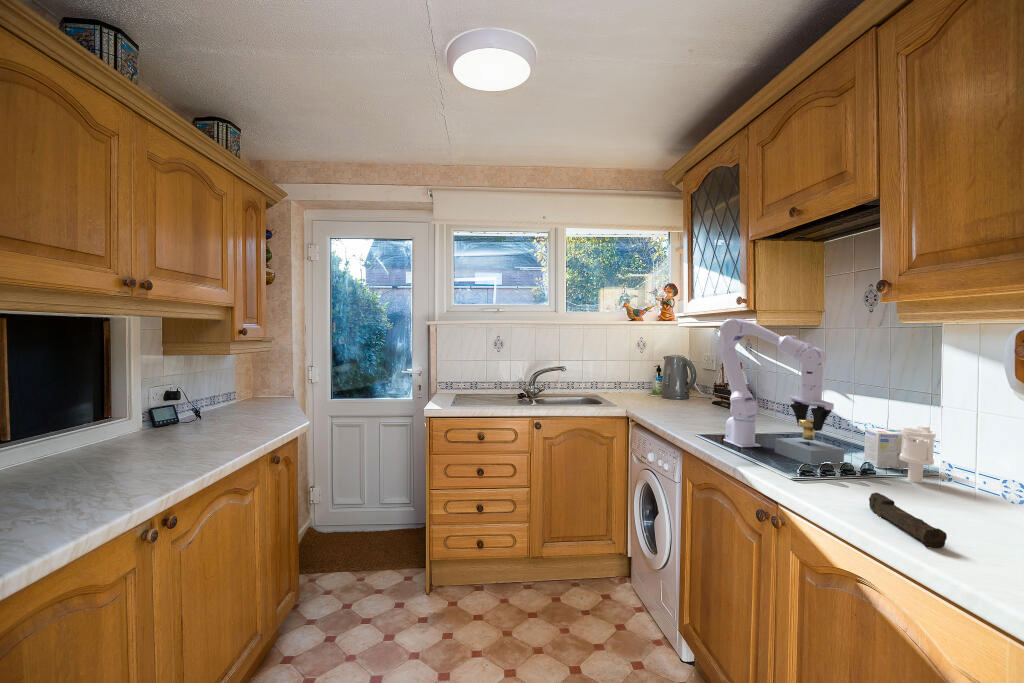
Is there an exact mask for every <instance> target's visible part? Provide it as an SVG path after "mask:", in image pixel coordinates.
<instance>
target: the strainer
mask: <svg viewBox="0 0 1024 683" xmlns="http://www.w3.org/2000/svg"><path fill="white" fill-rule="evenodd" d="M930 429H931V427H930V426H928V425H927V426H926V425H918V426H917V427H916V428H913V427H902V428H900V430H901V433H902V446H901V454H900V456H899V459H901V460H903V461H906V462H909V466H908V470H907V471H908V472H907V481H909V482H911V483H916V484H922V483H923V482H924V481H923V479H924V478H923V477H924V466H933V465H935V464H934V463H935V459H934V446H935V445H934V443H935V438H936V434H937V433H936V432H935V431H931V430H930ZM907 435H908V436H907ZM913 439H914V440H917V442H913Z"/></svg>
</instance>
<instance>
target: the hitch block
mask: <svg viewBox="0 0 1024 683" xmlns="http://www.w3.org/2000/svg"><path fill="white" fill-rule="evenodd" d="M774 453H776V454H778V455H781V456H784V457H786V458H789V459H792V460H794V459H795V460H794V461H797V462H800V463H802V462H803V463H802V464H805V463H812V464H821V463H824V462H831V463H834V464H833V465H836V464H835V463H840V462H844V461H845V449H844V448H842V447H839V446H835V445H833V444H830V443H825V442H823V441H820V440H816V439H814V440H805V439H803V437H786V438H785V437H784V438H780V437H779V438H775V439H774ZM844 463H845V462H844Z"/></svg>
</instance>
